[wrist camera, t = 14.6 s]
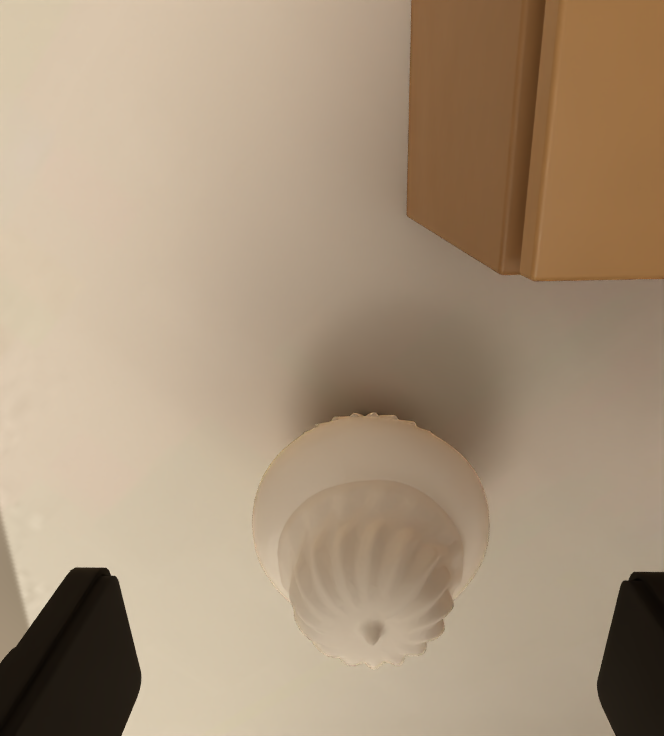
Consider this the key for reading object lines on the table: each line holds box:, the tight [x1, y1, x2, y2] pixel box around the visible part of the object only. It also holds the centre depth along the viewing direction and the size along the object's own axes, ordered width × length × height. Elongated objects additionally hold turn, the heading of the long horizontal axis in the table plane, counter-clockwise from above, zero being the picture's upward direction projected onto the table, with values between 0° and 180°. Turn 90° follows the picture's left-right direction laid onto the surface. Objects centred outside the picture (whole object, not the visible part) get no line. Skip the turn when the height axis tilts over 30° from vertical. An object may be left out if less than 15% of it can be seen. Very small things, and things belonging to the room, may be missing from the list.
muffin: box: [252, 412, 490, 669], centre depth 13 cm, size 6×6×7 cm
